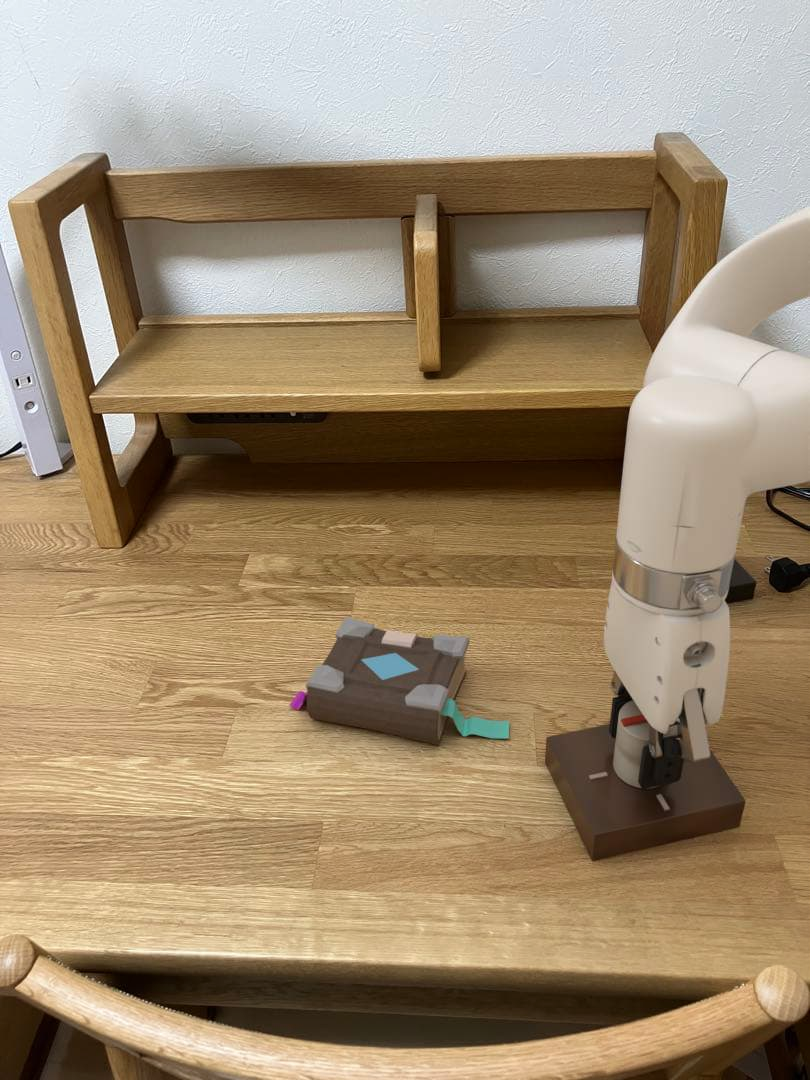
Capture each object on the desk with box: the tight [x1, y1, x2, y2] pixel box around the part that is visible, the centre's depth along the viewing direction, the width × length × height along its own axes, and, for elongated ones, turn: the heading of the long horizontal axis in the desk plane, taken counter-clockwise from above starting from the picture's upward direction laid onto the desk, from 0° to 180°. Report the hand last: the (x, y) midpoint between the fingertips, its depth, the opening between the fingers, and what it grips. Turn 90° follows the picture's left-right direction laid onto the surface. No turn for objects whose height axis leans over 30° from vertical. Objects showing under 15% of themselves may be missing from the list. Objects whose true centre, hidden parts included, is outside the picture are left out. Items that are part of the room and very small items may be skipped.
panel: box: [544, 723, 747, 862], centre depth 71 cm, size 12×10×3 cm
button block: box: [725, 558, 757, 605], centre depth 93 cm, size 10×8×4 cm
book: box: [288, 616, 510, 746], centre depth 81 cm, size 20×12×5 cm, turn 72°
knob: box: [613, 700, 677, 789], centre depth 68 cm, size 4×4×6 cm
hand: (643, 755), depth 69 cm, fingers closed on knob, 4 cm apart
